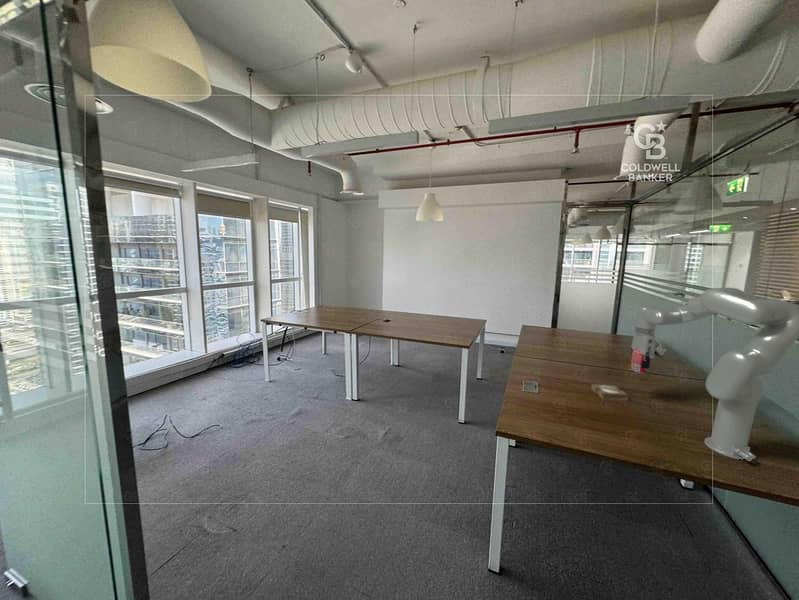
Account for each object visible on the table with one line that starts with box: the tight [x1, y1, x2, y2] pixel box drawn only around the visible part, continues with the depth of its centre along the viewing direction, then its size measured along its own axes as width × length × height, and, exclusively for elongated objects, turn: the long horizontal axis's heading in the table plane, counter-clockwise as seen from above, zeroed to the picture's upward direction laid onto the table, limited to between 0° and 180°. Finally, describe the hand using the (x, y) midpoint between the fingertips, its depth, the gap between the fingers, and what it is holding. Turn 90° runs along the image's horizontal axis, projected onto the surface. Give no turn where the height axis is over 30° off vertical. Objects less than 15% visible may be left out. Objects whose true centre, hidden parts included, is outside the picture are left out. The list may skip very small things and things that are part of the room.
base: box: [590, 383, 630, 402], centre depth 162 cm, size 12×12×3 cm
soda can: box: [630, 348, 649, 374], centre depth 151 cm, size 7×7×12 cm
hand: (639, 365), depth 152 cm, fingers closed on soda can, 7 cm apart
